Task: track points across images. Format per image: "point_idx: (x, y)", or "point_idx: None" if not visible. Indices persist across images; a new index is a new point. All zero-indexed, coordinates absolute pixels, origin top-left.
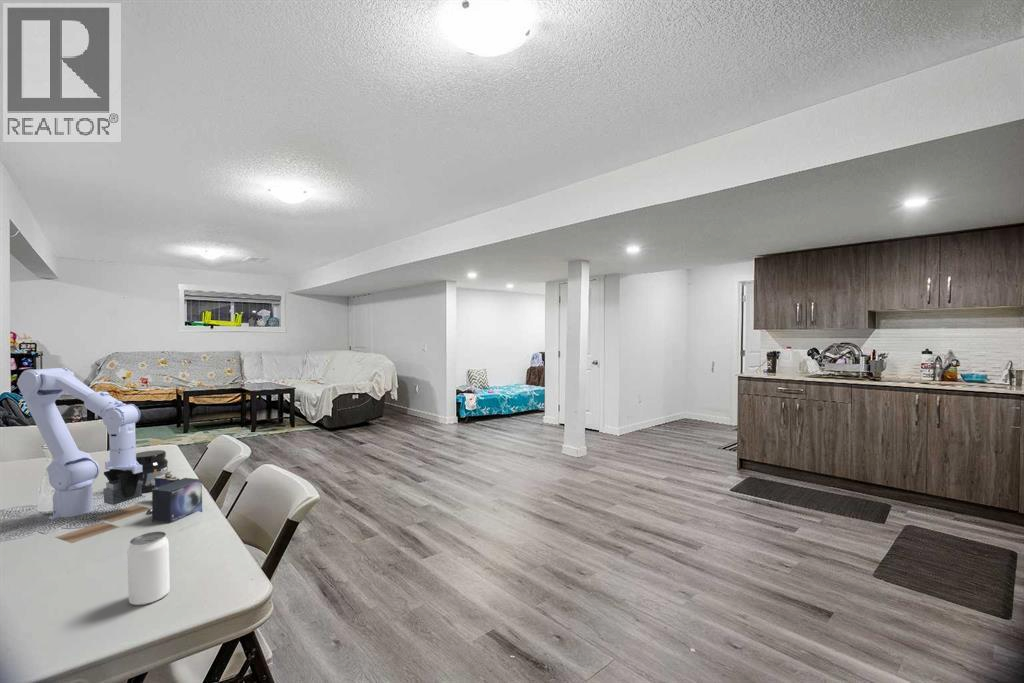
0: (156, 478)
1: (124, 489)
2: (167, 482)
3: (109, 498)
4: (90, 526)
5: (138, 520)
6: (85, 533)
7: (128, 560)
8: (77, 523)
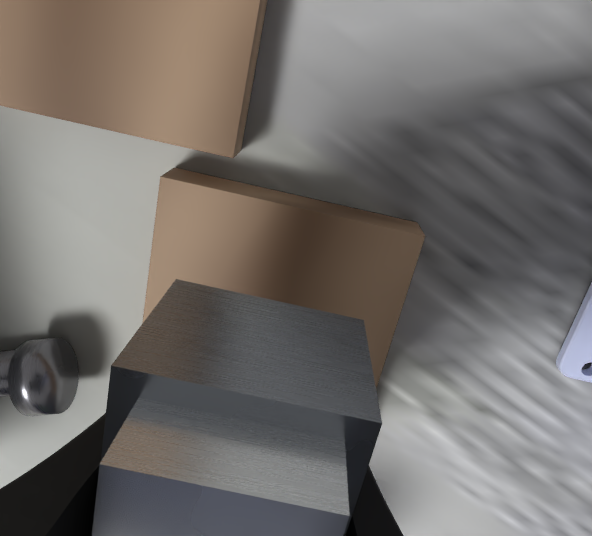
0: None
1: (52, 455)
2: None
3: (235, 323)
4: (238, 46)
5: (115, 312)
6: None
7: None
8: (568, 184)
